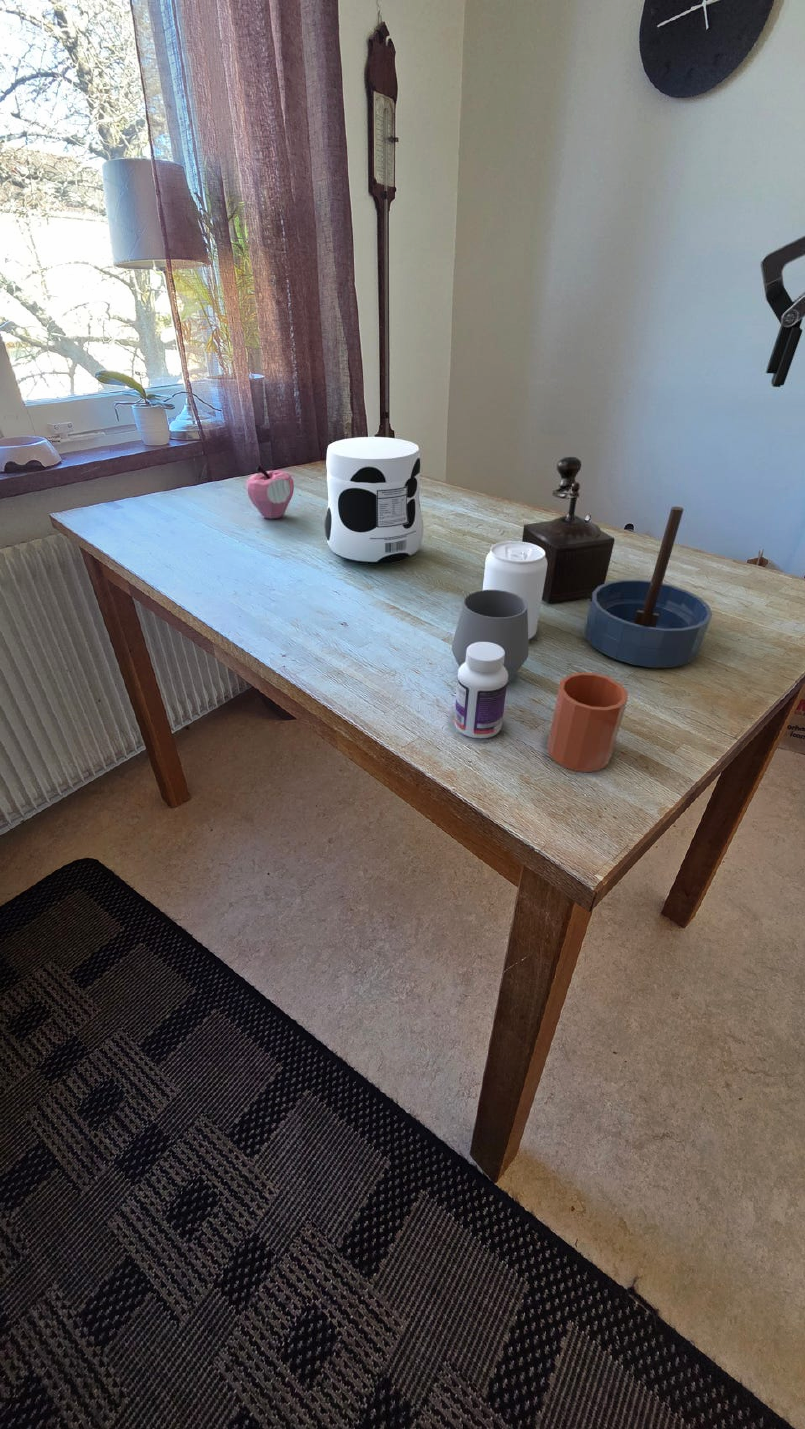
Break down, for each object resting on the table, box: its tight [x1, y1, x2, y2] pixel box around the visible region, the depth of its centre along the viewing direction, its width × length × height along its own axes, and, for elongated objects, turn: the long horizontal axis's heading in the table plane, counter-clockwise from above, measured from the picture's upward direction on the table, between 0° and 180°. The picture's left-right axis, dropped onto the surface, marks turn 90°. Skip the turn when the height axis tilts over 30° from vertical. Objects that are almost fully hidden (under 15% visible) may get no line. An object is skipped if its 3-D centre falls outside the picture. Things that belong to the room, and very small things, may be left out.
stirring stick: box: [634, 506, 684, 627], centre depth 78 cm, size 3×1×18 cm, turn 67°
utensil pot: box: [546, 671, 628, 773], centre depth 62 cm, size 7×7×8 cm
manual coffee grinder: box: [521, 456, 615, 604], centre depth 95 cm, size 16×11×18 cm
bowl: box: [583, 579, 713, 669], centre depth 82 cm, size 15×15×6 cm
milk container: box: [324, 436, 425, 566], centre depth 103 cm, size 17×17×18 cm
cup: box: [451, 589, 530, 682], centre depth 74 cm, size 10×9×10 cm
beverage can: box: [482, 540, 547, 640], centre depth 82 cm, size 8×8×12 cm
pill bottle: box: [454, 642, 509, 739], centre depth 65 cm, size 5×5×10 cm
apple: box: [245, 464, 295, 520], centre depth 121 cm, size 10×9×10 cm
